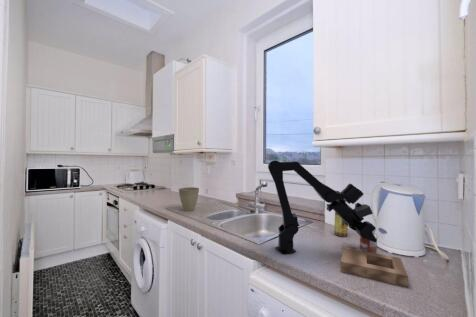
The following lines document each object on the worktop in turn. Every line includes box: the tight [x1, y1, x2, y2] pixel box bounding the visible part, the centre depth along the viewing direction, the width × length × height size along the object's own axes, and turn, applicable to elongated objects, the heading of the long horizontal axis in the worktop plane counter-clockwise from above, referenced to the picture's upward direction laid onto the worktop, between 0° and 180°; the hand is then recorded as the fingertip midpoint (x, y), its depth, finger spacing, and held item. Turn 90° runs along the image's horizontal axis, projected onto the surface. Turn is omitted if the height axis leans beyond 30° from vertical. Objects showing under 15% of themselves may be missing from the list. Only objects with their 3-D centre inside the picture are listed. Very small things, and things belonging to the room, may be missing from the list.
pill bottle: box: [359, 229, 378, 254], centre depth 92 cm, size 6×6×11 cm
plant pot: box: [178, 186, 200, 212], centre depth 164 cm, size 15×15×16 cm
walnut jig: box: [340, 246, 409, 288], centre depth 79 cm, size 19×14×4 cm
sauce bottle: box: [333, 199, 349, 237], centre depth 114 cm, size 7×6×20 cm
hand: (371, 238), depth 91 cm, fingers closed on pill bottle, 6 cm apart
